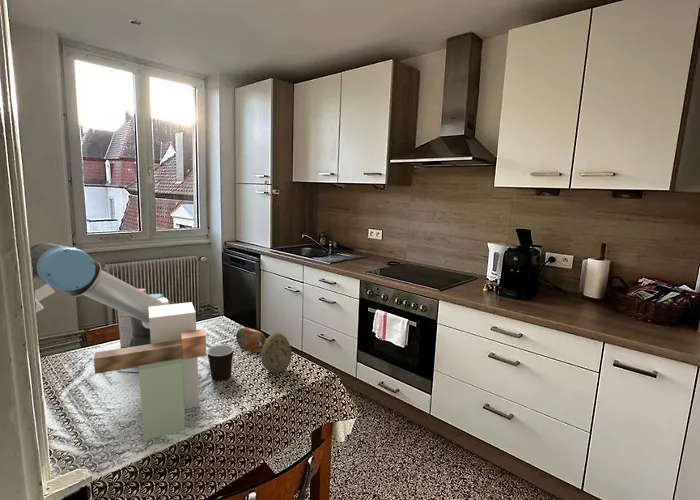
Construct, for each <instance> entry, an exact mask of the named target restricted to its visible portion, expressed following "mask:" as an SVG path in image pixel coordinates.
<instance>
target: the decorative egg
mask: <svg viewBox="0 0 700 500" xmlns="http://www.w3.org/2000/svg"><path fill="white" fill-rule="evenodd" d="M260 352H261V353H260V355H261V357H260V358H261V359H260V360H261V364H262V366H263V367H264V369H265V370H266V371H267V372H270V373H272V374H279V373H282V372H283V371H285V370H286V369H287V368H288V367H289V366H290V364H291V360H292V355H293V354H292V347H291V345H290V342H289V340H288V339H287V337H286V336H285V335H284V334H282V333H281V332H273V333H271V334H270V335H269V336H268V337H267V338H266V341H265V343H264V345H263V348H262V351H260Z"/></svg>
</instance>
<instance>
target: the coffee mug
mask: <svg viewBox="0 0 700 500" xmlns="http://www.w3.org/2000/svg"><path fill="white" fill-rule="evenodd" d="M234 350H235V349H234V346H231V345H228V344H219V345H215V346H212V347H210V348H209V349H208V350H206V354H207V358H208V365H209V369H210V370H209V371H210V376H211V380H212V381H214V382H218V383H220V382H224V381H227V380H229V379H231V377H232V370H233V369H232V367H233V359H234Z"/></svg>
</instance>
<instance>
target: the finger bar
mask: <svg viewBox="0 0 700 500" xmlns="http://www.w3.org/2000/svg"><path fill="white" fill-rule="evenodd" d="M206 356H207V334H206V332H205V330H204V328H199V329H196V330H192V331H185V332H181V340H174V341H168V342H161V343H154V344H148V345H141V346H134V347H128V348H121V347H120V348H115V349H108V350H102V351H96V352H95V353H94V357H93V364H94V375H96V374H103V373H108V372H109V373H110V372H113V371H121V370H125V369H126V370H127V369H133V368H137V367H138V368H139V366H140V365H146V364H152V363H158V362H163V361H169V360H175V359H183V360H184V359H190V358H195V357H197V358H202V357H206Z"/></svg>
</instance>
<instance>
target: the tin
mask: <svg viewBox="0 0 700 500" xmlns="http://www.w3.org/2000/svg"><path fill="white" fill-rule="evenodd" d="M235 337H236V342H237V344H238V346H239V347H240V348H242V349H243V350H247V351H250V352H253V353H256V354H257V353H260V352H262V348H263V345H264V343H265V341H266V340H267V338H266V336H265V334H264V333H263V332H262V331H260V330H257V329H254V328H249V327H242V328H239V329H238V330H237V331H236V336H235Z"/></svg>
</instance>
